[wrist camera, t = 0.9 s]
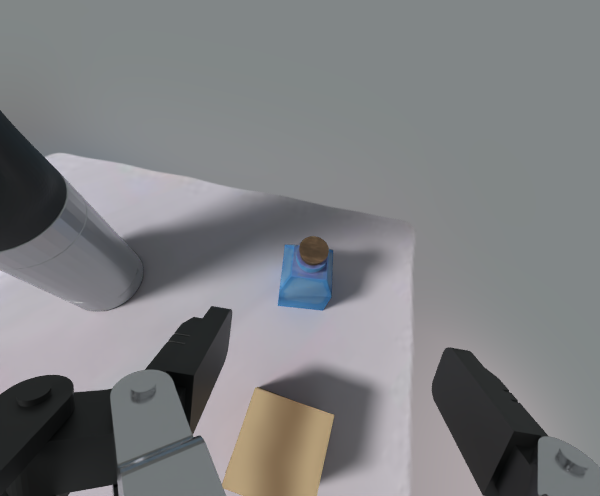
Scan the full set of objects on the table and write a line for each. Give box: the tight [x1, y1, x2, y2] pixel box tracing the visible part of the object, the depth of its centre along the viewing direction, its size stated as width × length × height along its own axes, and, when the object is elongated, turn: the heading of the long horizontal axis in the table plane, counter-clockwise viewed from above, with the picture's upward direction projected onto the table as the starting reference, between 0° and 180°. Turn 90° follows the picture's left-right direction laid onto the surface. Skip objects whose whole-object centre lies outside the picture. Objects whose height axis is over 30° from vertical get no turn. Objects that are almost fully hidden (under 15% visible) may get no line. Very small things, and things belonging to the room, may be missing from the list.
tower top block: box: [222, 388, 334, 496], centre depth 28 cm, size 8×8×4 cm
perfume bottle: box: [278, 236, 333, 310], centre depth 36 cm, size 6×6×12 cm
